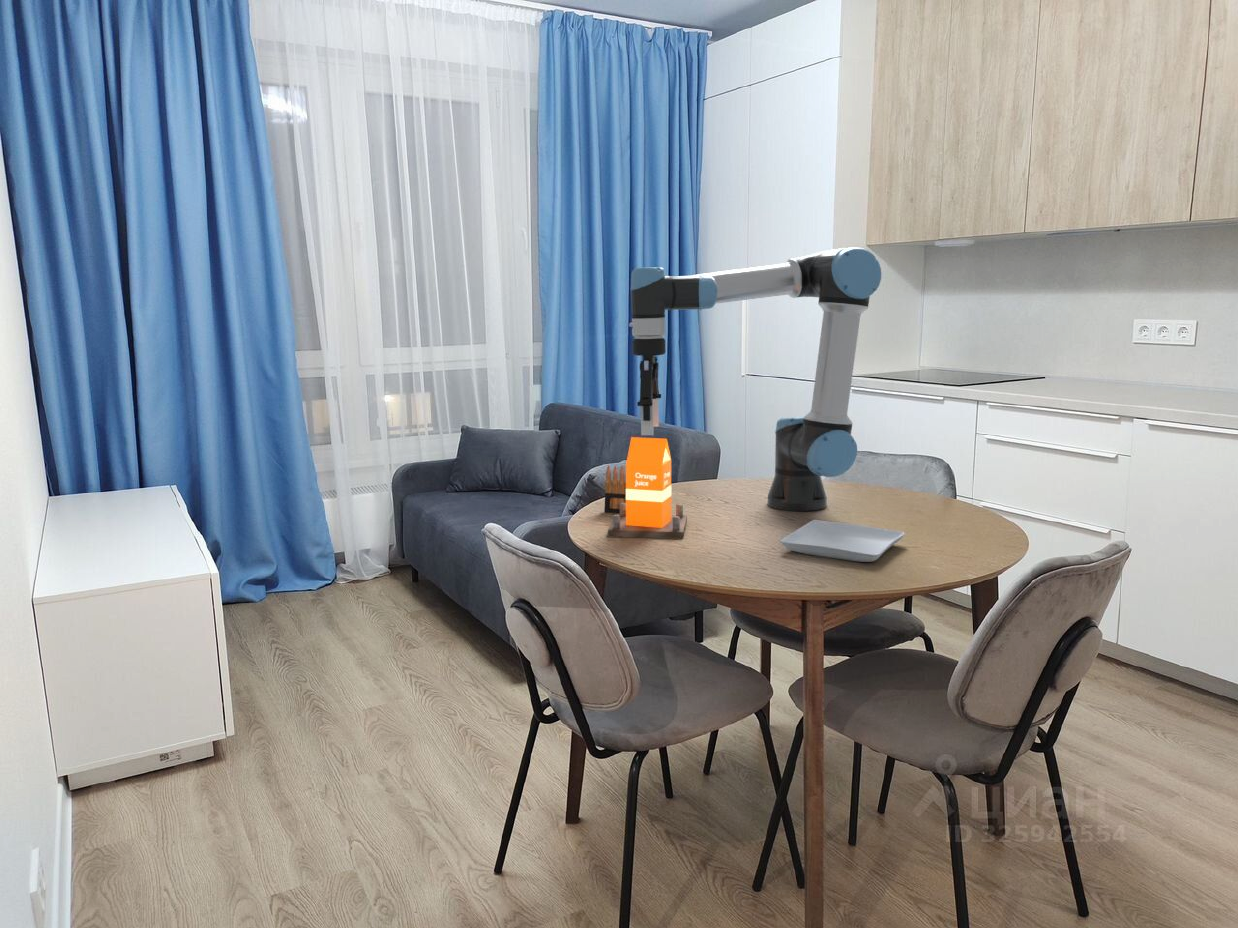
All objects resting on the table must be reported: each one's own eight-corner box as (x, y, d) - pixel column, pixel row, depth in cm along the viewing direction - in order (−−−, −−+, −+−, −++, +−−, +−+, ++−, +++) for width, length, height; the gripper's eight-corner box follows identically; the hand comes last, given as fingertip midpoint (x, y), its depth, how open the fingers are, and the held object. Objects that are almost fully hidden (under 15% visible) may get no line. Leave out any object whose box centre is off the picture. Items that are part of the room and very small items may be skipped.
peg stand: (686, 521, 219) (687, 503, 218) (683, 538, 204) (683, 518, 203) (617, 519, 221) (616, 501, 221) (608, 536, 206) (607, 517, 205)
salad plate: (877, 570, 180) (878, 553, 180) (777, 555, 191) (777, 539, 191) (906, 545, 198) (907, 530, 197) (812, 533, 209) (813, 518, 208)
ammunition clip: (646, 513, 228) (646, 466, 226) (644, 515, 226) (644, 468, 224) (606, 511, 231) (606, 464, 229) (604, 512, 230) (603, 465, 227)
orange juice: (662, 527, 207) (662, 441, 204) (625, 525, 210) (625, 439, 207) (671, 520, 214) (671, 436, 211) (636, 517, 217) (635, 434, 214)
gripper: (637, 335, 217) (639, 423, 221) (625, 340, 193) (627, 439, 197) (669, 334, 216) (670, 423, 220) (660, 339, 192) (662, 438, 196)
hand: (650, 430), depth 209 cm, fingers open, 13 cm apart
